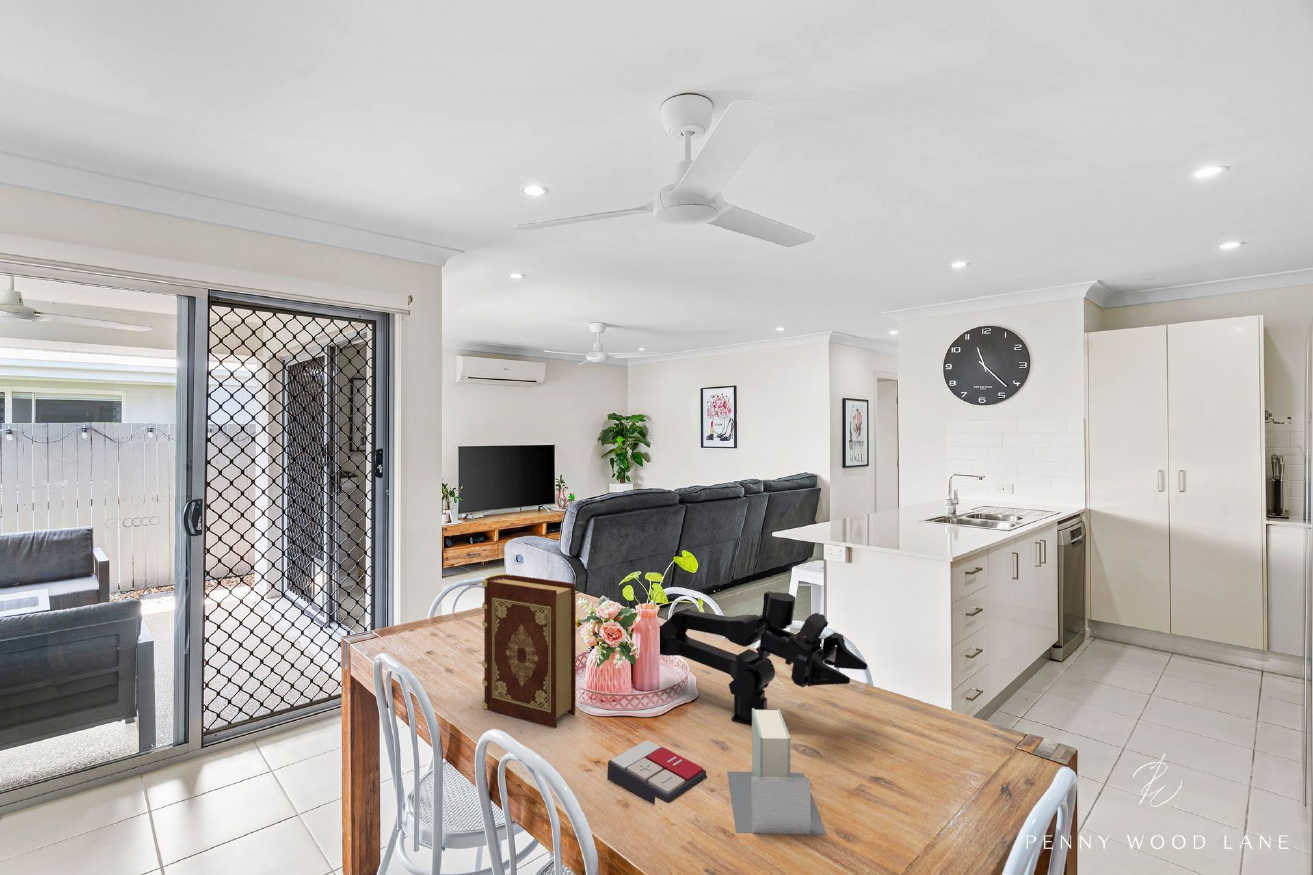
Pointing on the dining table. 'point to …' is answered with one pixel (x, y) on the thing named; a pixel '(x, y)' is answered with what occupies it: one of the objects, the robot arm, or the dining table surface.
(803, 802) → the bookend
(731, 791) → the shelf board
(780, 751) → the book
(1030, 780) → the dining table surface
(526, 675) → the decorative book
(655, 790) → the calculator
